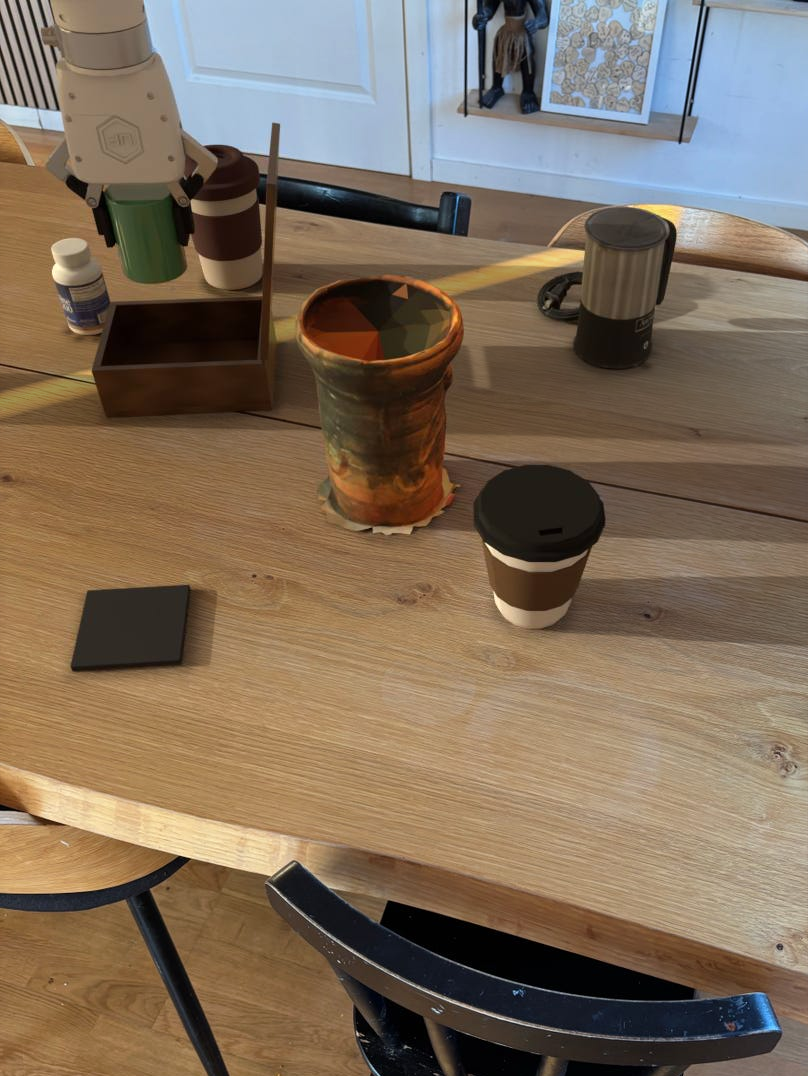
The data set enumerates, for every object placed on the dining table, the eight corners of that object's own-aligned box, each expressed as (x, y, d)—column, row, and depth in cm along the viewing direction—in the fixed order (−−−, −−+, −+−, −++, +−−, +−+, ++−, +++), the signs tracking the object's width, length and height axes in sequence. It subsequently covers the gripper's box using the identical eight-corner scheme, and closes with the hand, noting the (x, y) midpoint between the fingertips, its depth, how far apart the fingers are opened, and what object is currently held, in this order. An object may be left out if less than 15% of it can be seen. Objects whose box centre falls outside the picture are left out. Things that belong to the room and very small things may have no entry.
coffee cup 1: (221, 305, 124) (197, 182, 112) (179, 274, 129) (153, 153, 117) (289, 279, 128) (273, 158, 117) (246, 249, 133) (227, 130, 122)
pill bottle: (66, 317, 121) (41, 239, 114) (111, 308, 123) (90, 231, 116) (72, 340, 118) (47, 261, 111) (119, 331, 120) (97, 252, 112)
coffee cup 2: (608, 640, 88) (624, 538, 79) (485, 658, 87) (488, 556, 78) (574, 554, 95) (586, 452, 86) (460, 570, 94) (460, 468, 85)
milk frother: (638, 378, 115) (657, 254, 104) (508, 348, 118) (513, 224, 107) (670, 316, 124) (691, 196, 113) (548, 290, 127) (557, 170, 116)
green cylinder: (118, 284, 101) (99, 205, 95) (127, 253, 105) (109, 175, 100) (184, 283, 102) (169, 205, 96) (190, 252, 106) (175, 175, 100)
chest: (105, 417, 108) (91, 370, 104) (122, 347, 117) (110, 301, 113) (272, 410, 110) (264, 363, 105) (276, 341, 119) (269, 295, 114)
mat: (72, 671, 85) (69, 666, 85) (88, 594, 91) (87, 590, 90) (181, 664, 86) (179, 659, 85) (190, 588, 92) (189, 584, 91)
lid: (266, 183, 92) (275, 184, 92) (272, 122, 101) (280, 123, 101) (260, 359, 105) (267, 360, 105) (265, 291, 114) (272, 292, 114)
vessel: (436, 558, 95) (431, 374, 80) (294, 526, 97) (265, 343, 82) (480, 465, 104) (484, 285, 89) (350, 439, 107) (333, 259, 92)
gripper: (-7, 58, 85) (53, 260, 98) (204, 58, 86) (235, 258, 100) (12, 27, 90) (66, 224, 103) (211, 28, 91) (239, 222, 105)
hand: (149, 239), depth 101 cm, fingers closed on green cylinder, 6 cm apart
